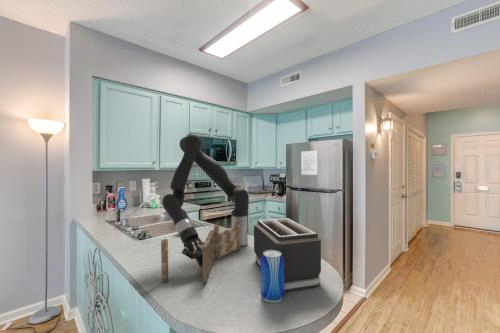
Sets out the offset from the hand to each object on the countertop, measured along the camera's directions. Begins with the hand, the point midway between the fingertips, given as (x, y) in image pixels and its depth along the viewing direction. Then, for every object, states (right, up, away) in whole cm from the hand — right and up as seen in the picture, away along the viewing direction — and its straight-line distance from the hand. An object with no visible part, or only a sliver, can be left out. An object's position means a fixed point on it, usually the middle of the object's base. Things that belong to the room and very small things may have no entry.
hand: (203, 265), depth 101 cm
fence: (-1, -5, +13) cm, 14 cm away
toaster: (+35, -5, +6) cm, 36 cm away
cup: (-24, -4, +62) cm, 66 cm away
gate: (+2, -4, +5) cm, 7 cm away
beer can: (+28, -5, -16) cm, 33 cm away
